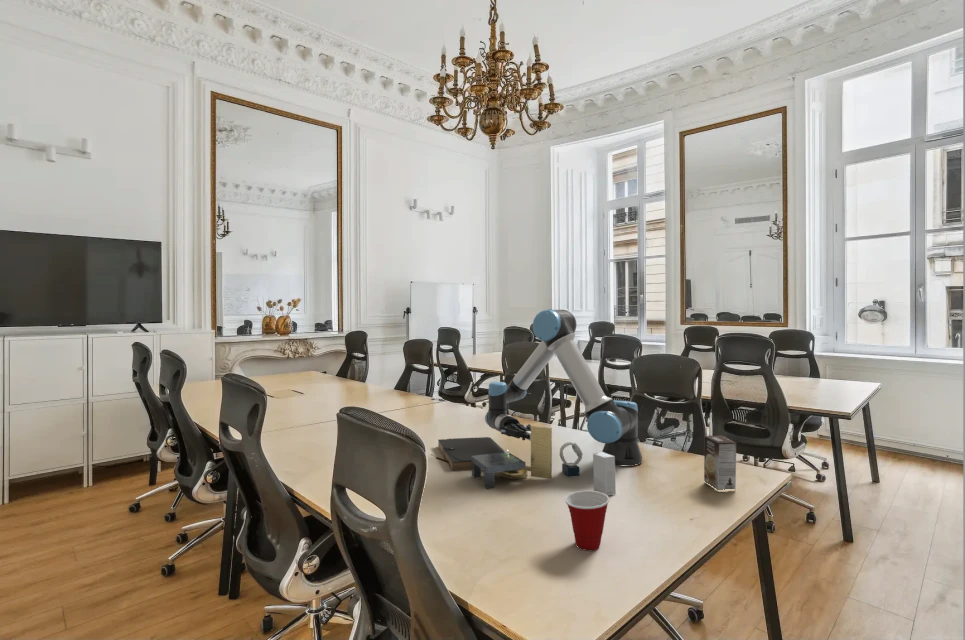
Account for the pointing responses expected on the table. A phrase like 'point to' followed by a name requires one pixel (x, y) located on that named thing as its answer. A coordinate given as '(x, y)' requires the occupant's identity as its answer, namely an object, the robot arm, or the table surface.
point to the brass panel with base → (537, 456)
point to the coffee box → (720, 462)
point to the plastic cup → (587, 517)
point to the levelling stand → (494, 465)
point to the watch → (571, 468)
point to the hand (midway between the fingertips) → (536, 438)
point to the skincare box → (604, 473)
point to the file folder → (466, 450)
